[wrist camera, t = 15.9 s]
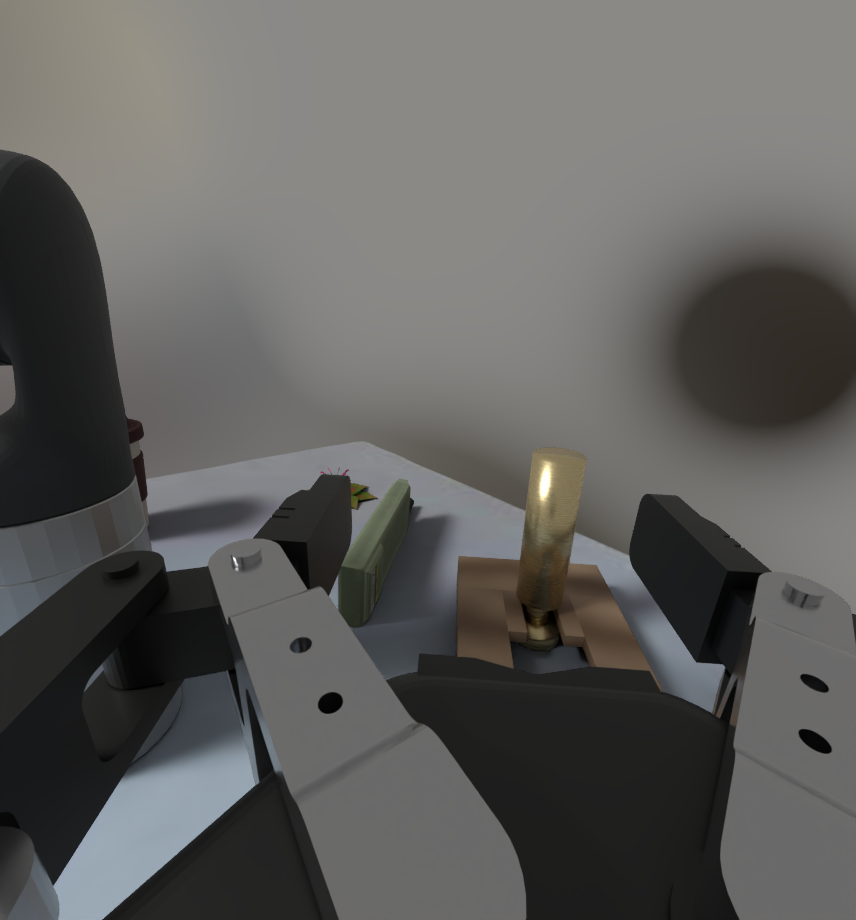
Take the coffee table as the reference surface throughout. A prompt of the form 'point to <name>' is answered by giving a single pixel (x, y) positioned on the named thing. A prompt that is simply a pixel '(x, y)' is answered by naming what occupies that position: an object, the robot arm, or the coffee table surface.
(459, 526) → the coffee table surface
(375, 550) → the handheld radio
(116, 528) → the robot arm
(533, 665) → the coffee table surface
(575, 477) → the brass peg
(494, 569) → the keyhole plate
